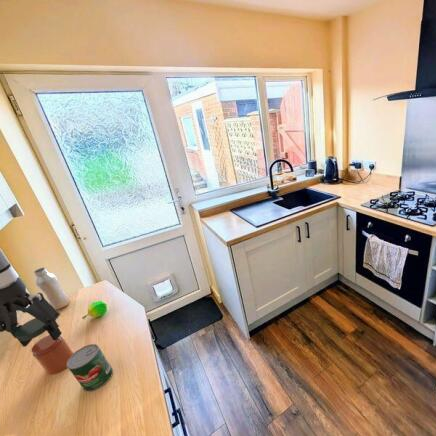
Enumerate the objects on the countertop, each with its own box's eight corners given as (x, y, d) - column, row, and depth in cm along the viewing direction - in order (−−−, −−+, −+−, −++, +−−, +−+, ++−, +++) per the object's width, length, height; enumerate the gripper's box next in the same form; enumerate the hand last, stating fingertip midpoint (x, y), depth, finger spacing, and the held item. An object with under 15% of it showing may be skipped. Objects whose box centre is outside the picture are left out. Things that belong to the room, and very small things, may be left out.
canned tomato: (86, 397, 73) (68, 374, 68) (80, 381, 78) (63, 358, 73) (116, 376, 78) (101, 352, 73) (109, 362, 83) (95, 339, 78)
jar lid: (31, 342, 73) (27, 338, 72) (10, 340, 75) (7, 335, 74) (59, 320, 80) (56, 316, 79) (39, 318, 82) (36, 314, 81)
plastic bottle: (49, 310, 110) (24, 274, 101) (65, 299, 116) (42, 265, 107) (60, 312, 108) (35, 275, 100) (75, 301, 114) (53, 265, 106)
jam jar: (41, 377, 80) (23, 356, 76) (55, 357, 87) (39, 336, 82) (67, 370, 82) (51, 349, 77) (79, 350, 88) (65, 330, 84)
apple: (101, 295, 104) (76, 309, 97) (110, 307, 103) (85, 322, 96) (102, 301, 109) (78, 315, 102) (110, 312, 108) (86, 327, 101)
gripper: (-56, 301, 65) (-4, 357, 75) (31, 285, 68) (71, 342, 77) (-28, 283, 72) (16, 337, 81) (50, 269, 74) (84, 323, 84)
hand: (43, 339), depth 79 cm, fingers closed on jar lid, 8 cm apart
